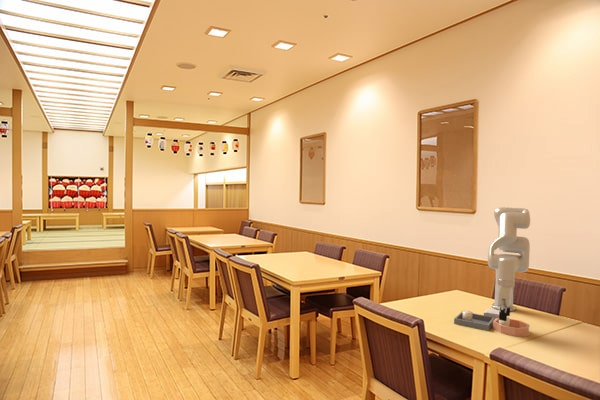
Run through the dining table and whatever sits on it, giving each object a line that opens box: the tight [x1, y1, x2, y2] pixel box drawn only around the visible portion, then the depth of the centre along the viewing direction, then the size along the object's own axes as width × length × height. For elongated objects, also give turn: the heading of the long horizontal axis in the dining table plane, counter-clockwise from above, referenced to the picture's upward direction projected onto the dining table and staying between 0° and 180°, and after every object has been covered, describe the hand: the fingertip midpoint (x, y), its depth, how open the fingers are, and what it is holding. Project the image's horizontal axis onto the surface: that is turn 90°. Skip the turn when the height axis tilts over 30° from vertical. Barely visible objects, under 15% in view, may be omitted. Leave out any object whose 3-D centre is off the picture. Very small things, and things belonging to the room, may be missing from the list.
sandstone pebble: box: [462, 310, 473, 322], centre depth 206 cm, size 5×5×5 cm
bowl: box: [492, 318, 530, 337], centre depth 195 cm, size 15×15×4 cm
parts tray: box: [453, 310, 495, 332], centre depth 204 cm, size 16×16×3 cm
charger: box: [483, 308, 500, 318], centre depth 214 cm, size 5×9×15 cm
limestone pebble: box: [499, 317, 511, 326], centre depth 196 cm, size 5×5×5 cm
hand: (504, 317), depth 196 cm, fingers open, 9 cm apart
